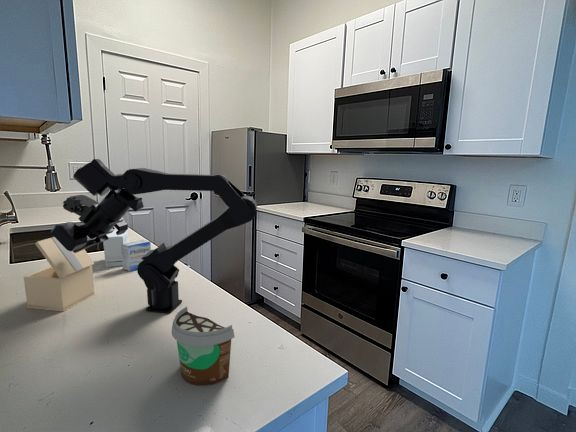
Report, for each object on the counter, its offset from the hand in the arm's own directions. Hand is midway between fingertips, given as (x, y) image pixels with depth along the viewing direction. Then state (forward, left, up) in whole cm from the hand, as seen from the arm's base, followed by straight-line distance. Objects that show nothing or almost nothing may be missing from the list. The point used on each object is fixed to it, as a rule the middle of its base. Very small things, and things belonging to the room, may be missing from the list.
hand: (74, 251), depth 80 cm
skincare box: (+12, -31, -14) cm, 36 cm away
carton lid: (+3, 0, -1) cm, 3 cm away
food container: (-41, +21, -14) cm, 48 cm away
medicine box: (+2, -27, -14) cm, 31 cm away
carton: (+5, 0, -13) cm, 14 cm away
